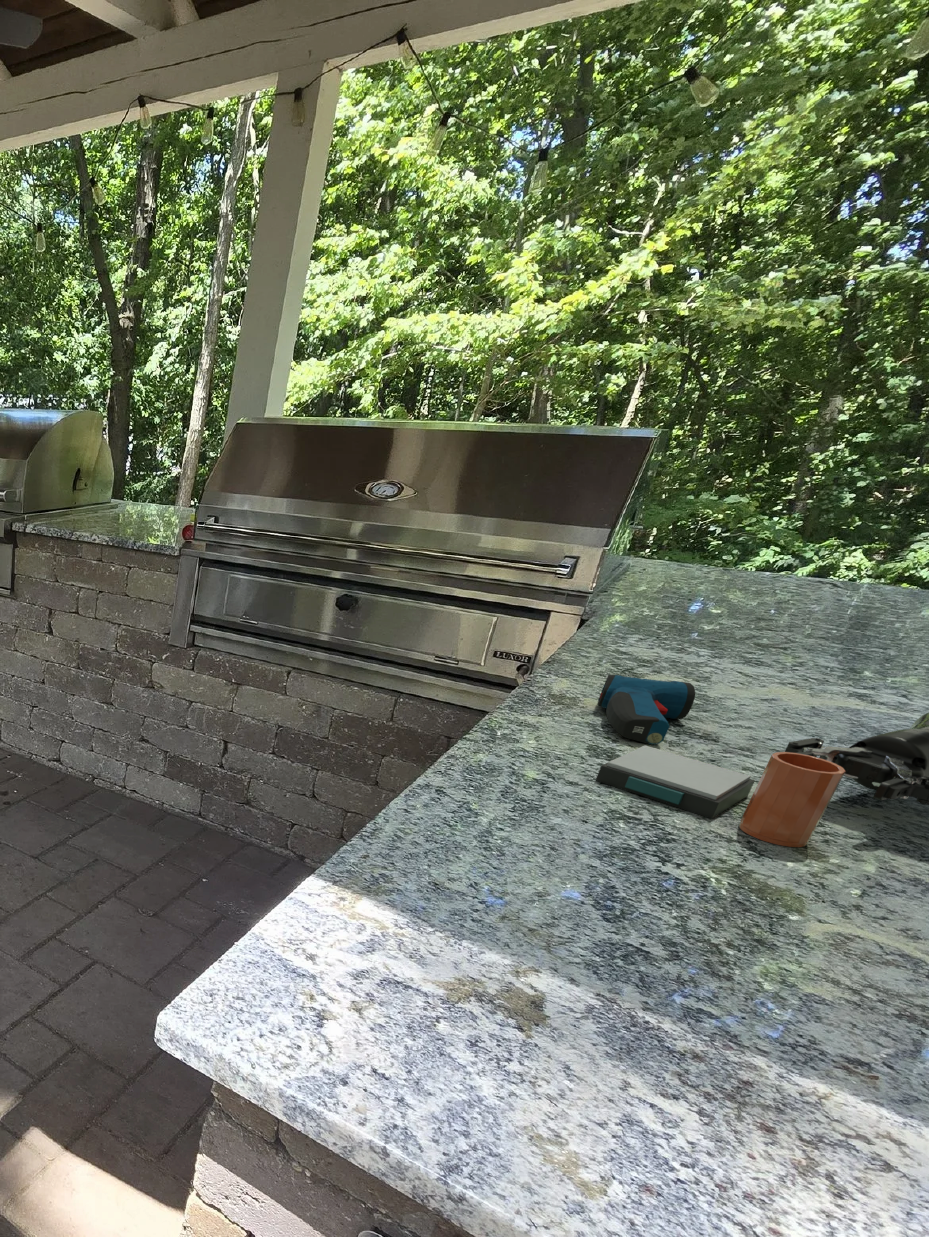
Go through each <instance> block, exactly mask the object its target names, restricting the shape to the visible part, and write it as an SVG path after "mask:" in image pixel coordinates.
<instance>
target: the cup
mask: <svg viewBox="0 0 929 1237" xmlns="http://www.w3.org/2000/svg"><path fill="white" fill-rule="evenodd" d="M844 773H845V770H844V768H843V767H841V766H839V765H837V764H835V763H833V762H830V761H827V760H824V759H821V758H819V757H818V756H817V757H813V756H809V755H804V754H799V753H790V752H785V751H778V752H774V753H772V754H771V755H770V757H769V760H768V762H767V764H766V766H765V768H764V770H763V772H762V774H761V777H760V779H759V781H758V782H757V785H756V787H755V789H754V791H753V793H752V796H751V798H750V800H749V802H748V804H747V806H746V808H745V810H744V813H743V814H742V816H741V818H740V822H739V824H738V827H739V829H740V830H741V831H742V832H743V833H745V834H747V835H748V836H750V837H753V838H755V839H758V840H760V841H762V842H766V843H769V844H773V845H778V846H781V847H789V848H803V847H806V846H807V845H808V843H809V841H810V840H811V839H812V836H813V835H814V833H815V831H816V829H817V827H818V825H819V823H820V821H821V819H822V818H823V816H824V814H825V812H826V810H827V808H828V806H829V804H830V802H831V800H832V798H833V796H834V795H835V792H836V791H837V788H838V787H839V785H840V783H841V781H842V779H843V777H844Z"/></svg>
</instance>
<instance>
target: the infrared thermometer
mask: <svg viewBox="0 0 929 1237" xmlns="http://www.w3.org/2000/svg"><path fill="white" fill-rule="evenodd" d="M695 698H696V689H695V686H694V685H693V684H692V682H688V681H687V682H685V681H678V680H672V681H667V680H659V679H652V678H651V679H649V678H642V677H632V676H631V677H630V676H623V675H620V674H609V675H607V677H606V679H605V682H604V684H603V687H602V689H601V692H600V694H599V697H598V699H597V706H598V707H601V708H603V709H606V710H605V714H606V718H607V720H608V723H609V724H610V726H611V727H612V728H613V729H614V731H615V732H617V733H618V734H619V735H620V736H622V737H624V738H625V739H629V740H632V741H636V742H640V743H644V744H647V743H648V744H647V745H650V744H652V745H651V746H654V745H659V744H661V743H662V742H663V741H664V740H665V738H666V736H667V733H668V731H669V729H670V724H669V721H668V720H667V719H669V718H670V719H671V720H682V719H685V718H686V717H687V715H689V713H690V711H691V710H692V707H693V704H694V702H695ZM653 744H654V745H653Z"/></svg>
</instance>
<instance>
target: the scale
mask: <svg viewBox="0 0 929 1237" xmlns="http://www.w3.org/2000/svg"><path fill="white" fill-rule="evenodd" d="M595 781H596V782H599V783H601V784H604V785H608V786H612V787H614V788H617V789H620V790H623V791H626V792H629V793H632V794H634V795H638V796H641V797H645V798H647V799H650V800H653V801H656V802H659V803H661V804H662V803H663V804H665V805H669V806H671V807H675V808H677V809H680V810H682V811H683V810H684V811H686V812H689V813H693V814H695V815H699V816H701V817H705V818H708V819H711V820H712V819H714V818H716V817H717V816H719V815H720V814H722V813H723V812H725V811H726V810H728V809H729V808H731V807H732V806H734V805H736V804H737V803H738V802H739V803H740V802H741V801H742V800H744V799H745V798H747V797H748V796H749V794H750V792H751V790H752V787H753V786H754V784H755V782H756V781H755V780H754V779H752V778H751V775H749V774H745V773H742V772H739V771H735V770H733V769H732V770H731V769H730V768H729V769H728V768H724V767H722V766H718V765H714V764H711V763H707V762H704V761H700V760H697V759H694V758H691V757H686V756H683V755H681V754H677V753H673V752H669V751H666V750H663V749H659V748H655V747H652V746H648V745H642V746H640V747H637V748H636V749H634V750H631V751H629V752H627V753H625V754H622V755H621V756H618V757H616V758H614V759H612V760H610V761H608V762H606V763H604V764H602V765H601V764H600V768H599V770H598V773H597V776H596V778H595Z"/></svg>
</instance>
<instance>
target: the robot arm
mask: <svg viewBox="0 0 929 1237" xmlns="http://www.w3.org/2000/svg"><path fill="white" fill-rule="evenodd" d="M824 742H825V741H824V739H822V738H819V737H810V738H805V739H799V740H794V741H793V740H792V741H789V742H788V744H787V746H786V748H785V750H784V752H790V753H799V754H804V755H809V756H813V757H817V758H821V759H824V760H827V761H830V762H833V763H835V764H837V765H839V766H841V767H843V768H844V770H845V773H844V775H843V777H846V778H848V779H852V780H853V781H854V782H856V783H857V784H859V785H860V786H862V787H864V788H866V789H868V790H871V791H875V793H874V795H873V799H875V800H878V801H885V800H897V799H901V800H907V799H909V798H915V799H916V800H915V802H917V803H919V804H920V805H927V806H929V712H926V713H924V714H923V715H921V716H920V717H918V718H917V719H916V720H915V721H914V722H913V723H912V724H911V726H910V727H909V728H906V729H905V728H903V729H897V730H893V731H888V732H884V733H881V734H875V735H872V736H868V737H865V738H862V739H860V740H858V741H856V742H855V743H853V744H852V745H850V746H849V747H842V746H841V747H840V746H829V745H828V746H824Z"/></svg>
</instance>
